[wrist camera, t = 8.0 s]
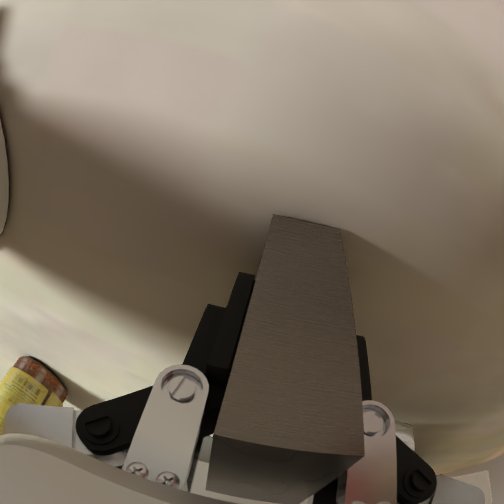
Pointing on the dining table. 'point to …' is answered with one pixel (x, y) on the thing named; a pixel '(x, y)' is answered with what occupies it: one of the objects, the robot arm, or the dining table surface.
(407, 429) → the steel puck
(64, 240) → the dining table surface
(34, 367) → the sauce bottle
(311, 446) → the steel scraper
